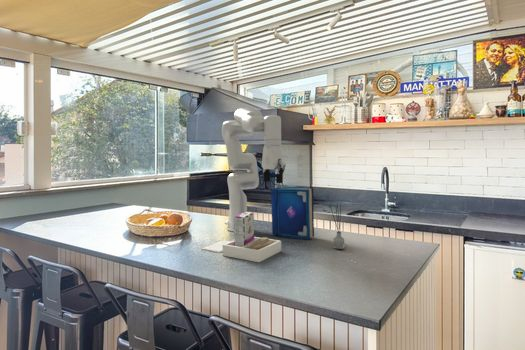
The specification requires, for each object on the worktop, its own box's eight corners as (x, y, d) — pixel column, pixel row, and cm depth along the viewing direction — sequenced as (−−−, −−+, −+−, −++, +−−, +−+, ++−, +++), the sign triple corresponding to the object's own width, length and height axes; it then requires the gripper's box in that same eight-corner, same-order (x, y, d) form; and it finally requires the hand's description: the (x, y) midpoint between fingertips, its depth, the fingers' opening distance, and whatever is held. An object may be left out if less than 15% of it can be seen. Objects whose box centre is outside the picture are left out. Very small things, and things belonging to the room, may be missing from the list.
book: (269, 235, 182) (269, 187, 181) (275, 233, 189) (275, 185, 187) (309, 240, 172) (309, 189, 170) (314, 237, 178) (314, 187, 177)
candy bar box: (244, 247, 161) (244, 211, 159) (254, 248, 159) (254, 212, 158) (234, 254, 150) (233, 216, 149) (244, 256, 148) (244, 216, 147)
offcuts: (248, 257, 146) (248, 243, 146) (263, 250, 156) (263, 237, 156) (258, 259, 144) (258, 245, 143) (273, 252, 154) (273, 238, 153)
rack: (222, 255, 149) (222, 244, 149) (246, 245, 165) (246, 235, 164) (259, 262, 140) (259, 250, 140) (281, 250, 155) (281, 240, 155)
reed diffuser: (342, 252, 153) (342, 205, 151) (326, 250, 156) (326, 204, 154) (347, 246, 162) (347, 202, 160) (332, 244, 165) (332, 201, 163)
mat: (201, 249, 158) (201, 248, 158) (223, 241, 172) (223, 240, 172) (219, 252, 153) (219, 251, 153) (240, 244, 166) (240, 243, 166)
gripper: (255, 144, 164) (255, 181, 165) (277, 143, 149) (277, 184, 150) (268, 144, 168) (268, 180, 169) (291, 143, 153) (291, 183, 155)
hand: (272, 182), depth 160 cm, fingers open, 9 cm apart
